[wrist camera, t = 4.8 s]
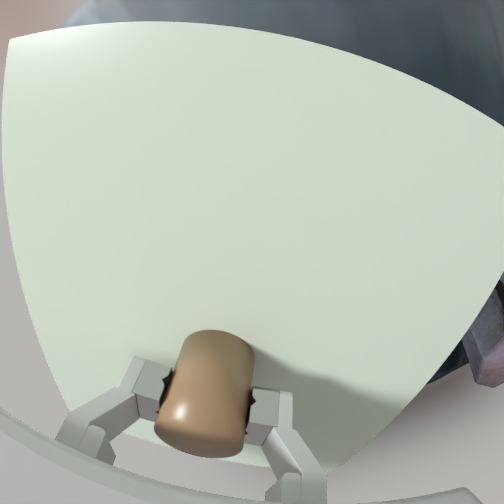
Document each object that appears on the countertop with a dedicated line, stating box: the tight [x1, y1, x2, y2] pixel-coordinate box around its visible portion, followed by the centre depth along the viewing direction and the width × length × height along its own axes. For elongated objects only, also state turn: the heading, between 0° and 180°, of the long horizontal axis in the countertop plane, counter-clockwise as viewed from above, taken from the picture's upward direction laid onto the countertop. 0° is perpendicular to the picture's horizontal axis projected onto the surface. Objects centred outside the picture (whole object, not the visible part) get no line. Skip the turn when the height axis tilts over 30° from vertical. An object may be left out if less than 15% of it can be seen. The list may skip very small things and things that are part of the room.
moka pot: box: [462, 272, 504, 387], centre depth 24 cm, size 10×15×20 cm, turn 47°
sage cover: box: [2, 22, 504, 472], centre depth 16 cm, size 20×23×17 cm
